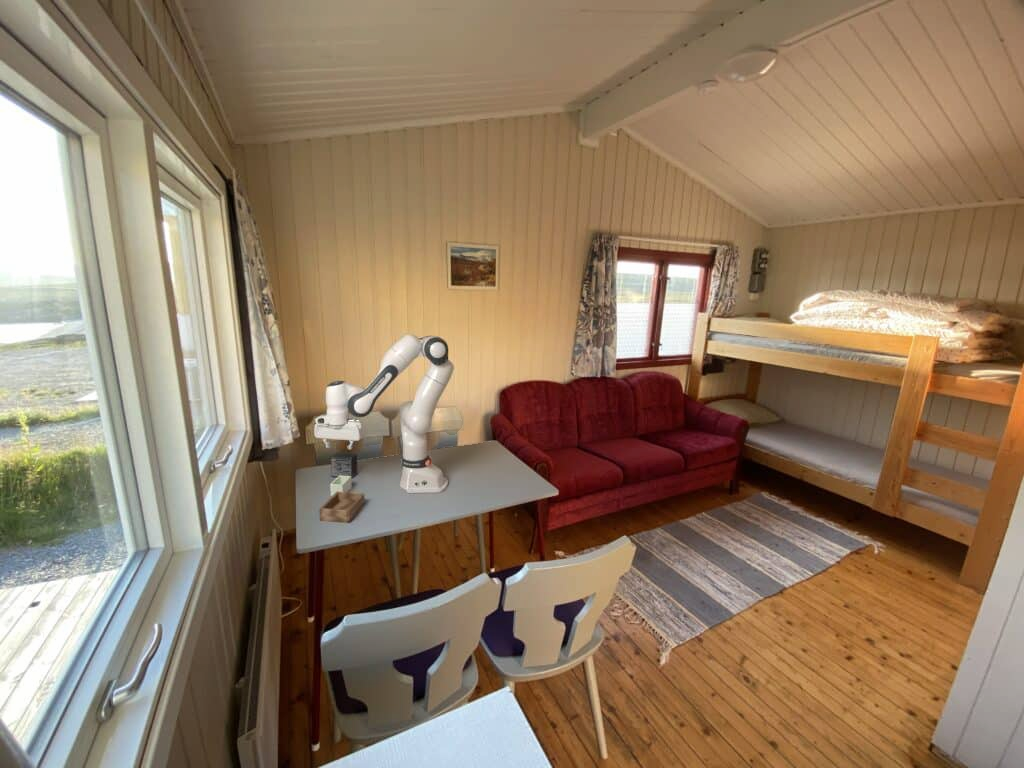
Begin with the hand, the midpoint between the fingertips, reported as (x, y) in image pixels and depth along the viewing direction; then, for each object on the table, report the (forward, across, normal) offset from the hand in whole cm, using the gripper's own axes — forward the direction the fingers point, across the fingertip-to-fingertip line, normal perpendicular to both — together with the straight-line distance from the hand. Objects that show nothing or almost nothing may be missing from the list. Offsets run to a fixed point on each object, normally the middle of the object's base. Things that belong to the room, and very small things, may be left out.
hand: (339, 448), depth 188 cm
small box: (+22, +6, -17) cm, 28 cm away
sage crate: (+21, 0, 0) cm, 21 cm away
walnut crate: (+21, -8, +16) cm, 28 cm away
